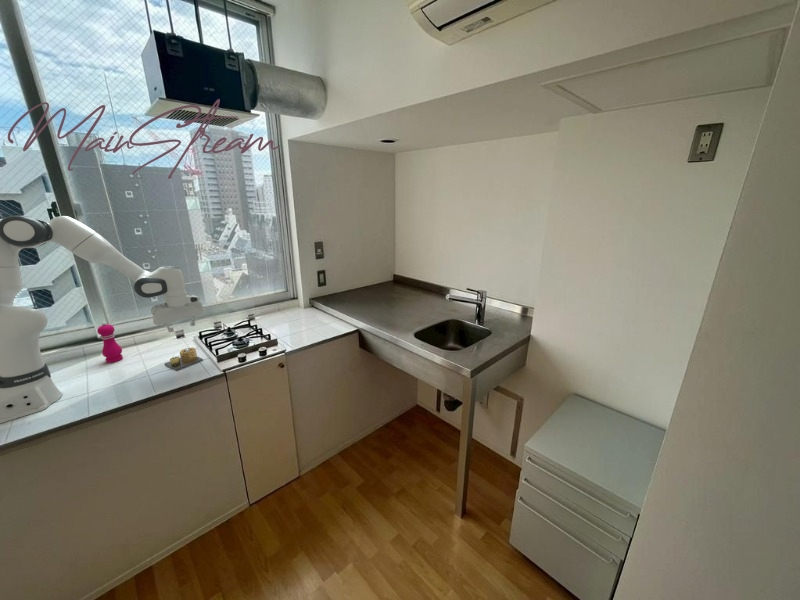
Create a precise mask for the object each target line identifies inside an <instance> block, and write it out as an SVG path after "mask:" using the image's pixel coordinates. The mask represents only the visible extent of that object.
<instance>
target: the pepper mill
mask: <svg viewBox="0 0 800 600" xmlns="http://www.w3.org/2000/svg"><path fill="white" fill-rule="evenodd" d="M97 334H98V335H100V340H102V342H103V347H102V350H101V352H102V357H105V362H106V363H107V364H113V363H117V362H120V361H122V360H123V359H124V356H123V354H122V352H123V348H122V347H121V346H120V345H119V344H118V343H117V342H116V339H115V337H116V335H115V327H114V326H113V325H112V324H108V323H107V322H105V321H102V322H101V325H100V326H98V328H97Z"/></svg>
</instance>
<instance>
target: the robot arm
mask: <svg viewBox="0 0 800 600" xmlns="http://www.w3.org/2000/svg"><path fill="white" fill-rule="evenodd" d="M46 243H55V244H57V245H59V246H61V247H63V248H64V249H66V250H67V251H69V252H71V253H72V254H74V255H75V256H77V257H79V258H81V259H82V260H84V261H88V262H89V263H91V264H99V265H105V266H109V267H111V268H113V269H116V270H117V271H118V272H120V273H122V274H123V275H124V276H126V277H128V278H129V279H131V280H132V281H133V282H134V285H133V289H134V292H135V293H136V295H138V296H140V297H141V298H146V299H149V298H150V299H151V298H154V297H159V296H162V295H163V299H164V302H163V303H160V304H155V305H153V306H152V307H151V309H150V311H151V314H152V320H153V321H152V322H153V324H154V325H156V326H158V327H159V326H164V327H165V328H167V332H168V333H173V332H174V328H173V327H170V326H171V325H170V324H172V323H176V322H179V321H182V320H183V321H184V320H187V319H190V318H191V321H190V322H189V325H190V327H194V326H196V321H197V319H198V318H197V317H198V316H202V315H203V314H204V313H205V309H204V307H203V303H202V302H201V301H200V300H201V299H200V298H201V297H200V296H198V295H194V294H192V295H191V294H188V293H187V290H186V283H185V282H186V280H185V277H184V275H183V272H182V270H181V269H180V268H179V266H178V267H177V266H176V265H161V266H159V267H158V268H157V269H155V270H153V271H152V270H148V269H145V268H143V267H142V266H140V265H139V264H137V263H135V262H134V261H133V260H132V259H129V258H128V257H127V256H125V255H124V254H123V253H121V252H120V251H119V250H118V249H117V248H116V247H115V246H114V245H112V243H110V242H109V241H108V240H107V239H106V238H104V236H102V235H101V234H99V233H98V232H97V231H95V230H93V228H91V227H89V226H87V225H86V224H84V223H83V222H81V221H79V220H77V219H75V218H72V217H70V216H69V215H68V216H67V215H61V216H55V217H54V218H51V219H50V220H49V221H46V220H43V219H37V218H33V217H32V216H31V217H30V216H25V215H11V216H7V217H4V218H2V219H1V220H0V424H3V423H6V422H10V421H13V420H15V419H18V418H22V417H25V416H28V415H33V414H35V413H37V412H38V413H39V412H41V411H44V410H45V409H47V408H49V407H50V406H51V405H52V404H53V403H55V402H57V401H59V400H60V399H61V398H62V396H63V392H61V390H59V389H58V387H57V385H56V384H55V383H54V381H53V379H52V378H51V377H52V375H51V371H50V368H49V365H48V364H46V363H45V361H44V359H43V355H42V352H41V349H40V336H41V333H42V332H43V331H44V330H45V328H46V327H47V325H48V318H47V316H46V314H45V313H44V312H43V311H42V310H40V309H36V308H32V307H28V306H21V305H20V306H19V305H17V306H16V305H14V301H15V298H16V295H17V294H18V293H19V292H21V291H22V289H23V285H24V284H23V279H22V273H21V267H20V261H19V253H20V251H21V250H28V249H32V248H39V247H41V246H43V245H45V244H46ZM174 333H175V332H174Z"/></svg>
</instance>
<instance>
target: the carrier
mask: <svg viewBox="0 0 800 600" xmlns="http://www.w3.org/2000/svg"><path fill="white" fill-rule="evenodd" d="M189 348H190V347H186V348H184V349H185V352H189V351H190V349H189ZM201 362H204V358H203V357H200V356H197V358H196V359H195V360H192V361H189V362H183V361H181V357H179V356H172V357H171V358H169V361H167V362H165V363H164V366H166V367H167V368H169V369H171V370H172V371H175V372H178V371H181V370H184V369H186V368H189V367H191V366H194V365H196V364H198V363H201Z"/></svg>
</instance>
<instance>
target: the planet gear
mask: <svg viewBox="0 0 800 600" xmlns="http://www.w3.org/2000/svg"><path fill="white" fill-rule="evenodd" d="M188 348H189V349H190V351H189V352H185V349H186V348H184V349H181V350H180V351H179V356H180V358H181V361H183V362H189V361H192V360H195V359H196V358H197V357H198V353H197V350H196V348H195V347H188Z"/></svg>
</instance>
